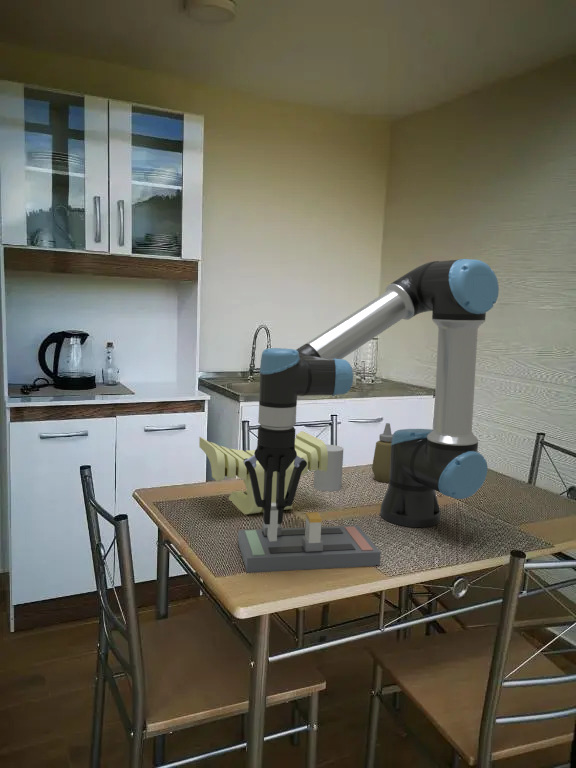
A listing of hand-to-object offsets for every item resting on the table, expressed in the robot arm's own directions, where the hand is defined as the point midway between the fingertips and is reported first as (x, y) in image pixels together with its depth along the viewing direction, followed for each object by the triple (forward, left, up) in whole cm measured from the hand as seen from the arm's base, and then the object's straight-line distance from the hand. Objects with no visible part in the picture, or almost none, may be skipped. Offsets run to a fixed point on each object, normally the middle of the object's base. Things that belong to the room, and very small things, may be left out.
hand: (272, 538), depth 123 cm
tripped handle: (-9, 0, -2) cm, 9 cm away
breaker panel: (-9, -5, -6) cm, 11 cm away
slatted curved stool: (-4, -36, -6) cm, 37 cm away
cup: (-26, -50, -6) cm, 56 cm away
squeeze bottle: (-46, -56, -6) cm, 72 cm away
